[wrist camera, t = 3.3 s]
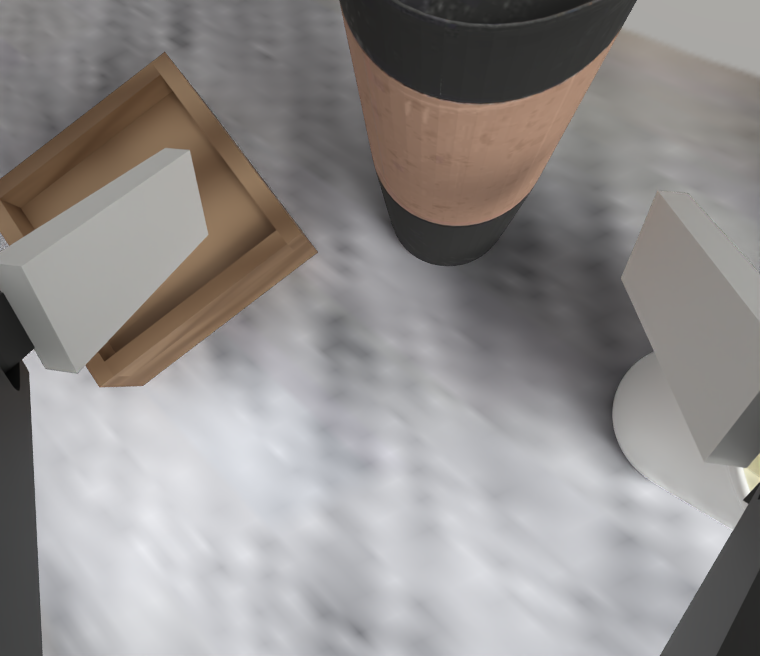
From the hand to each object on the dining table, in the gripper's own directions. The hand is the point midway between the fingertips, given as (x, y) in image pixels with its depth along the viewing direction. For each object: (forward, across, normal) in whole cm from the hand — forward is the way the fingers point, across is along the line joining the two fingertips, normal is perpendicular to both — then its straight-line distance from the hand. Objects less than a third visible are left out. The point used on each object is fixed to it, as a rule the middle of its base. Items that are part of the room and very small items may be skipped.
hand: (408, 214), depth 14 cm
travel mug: (+15, +1, -7) cm, 16 cm away
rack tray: (+12, -16, -9) cm, 22 cm away
